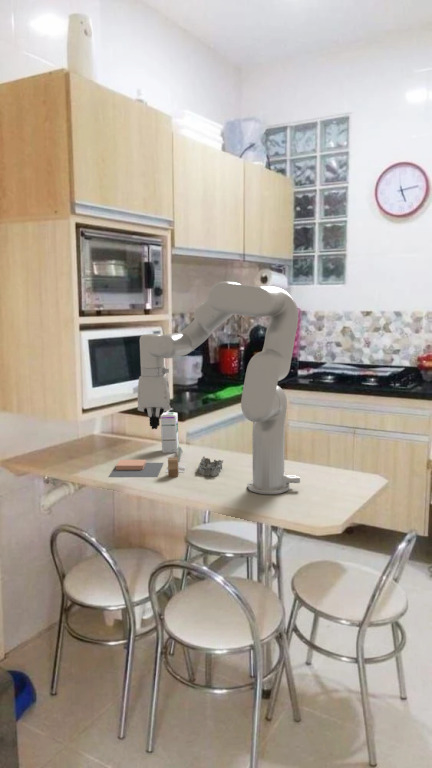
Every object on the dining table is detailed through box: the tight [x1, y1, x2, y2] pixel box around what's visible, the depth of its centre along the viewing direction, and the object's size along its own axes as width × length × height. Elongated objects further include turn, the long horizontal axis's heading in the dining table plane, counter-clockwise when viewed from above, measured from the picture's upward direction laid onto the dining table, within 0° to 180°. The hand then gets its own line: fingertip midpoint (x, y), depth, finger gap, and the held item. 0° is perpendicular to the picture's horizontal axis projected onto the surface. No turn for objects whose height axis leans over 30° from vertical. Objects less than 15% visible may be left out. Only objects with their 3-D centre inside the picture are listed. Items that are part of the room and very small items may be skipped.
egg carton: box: [197, 456, 224, 477], centre depth 196 cm, size 11×8×4 cm
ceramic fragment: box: [167, 446, 184, 463], centre depth 213 cm, size 14×5×4 cm, turn 177°
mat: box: [107, 462, 164, 478], centre depth 198 cm, size 16×16×1 cm
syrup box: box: [160, 411, 180, 453], centre depth 221 cm, size 6×6×14 cm
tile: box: [115, 459, 147, 470], centre depth 201 cm, size 2×7×9 cm
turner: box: [165, 456, 186, 478], centre depth 195 cm, size 12×6×6 cm, turn 178°
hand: (154, 428), depth 193 cm, fingers closed
